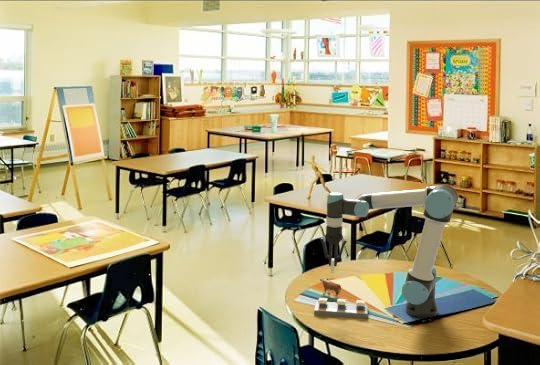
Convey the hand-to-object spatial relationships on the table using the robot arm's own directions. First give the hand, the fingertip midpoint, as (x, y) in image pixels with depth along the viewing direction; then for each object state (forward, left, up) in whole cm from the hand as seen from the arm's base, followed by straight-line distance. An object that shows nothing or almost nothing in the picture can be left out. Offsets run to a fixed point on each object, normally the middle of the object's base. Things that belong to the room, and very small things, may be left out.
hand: (332, 272), depth 285 cm
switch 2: (-14, +3, -14) cm, 20 cm away
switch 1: (+4, +3, -14) cm, 15 cm away
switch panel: (-5, +4, -18) cm, 19 cm away
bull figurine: (+2, -16, -18) cm, 25 cm away
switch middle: (-5, +3, -14) cm, 15 cm away
